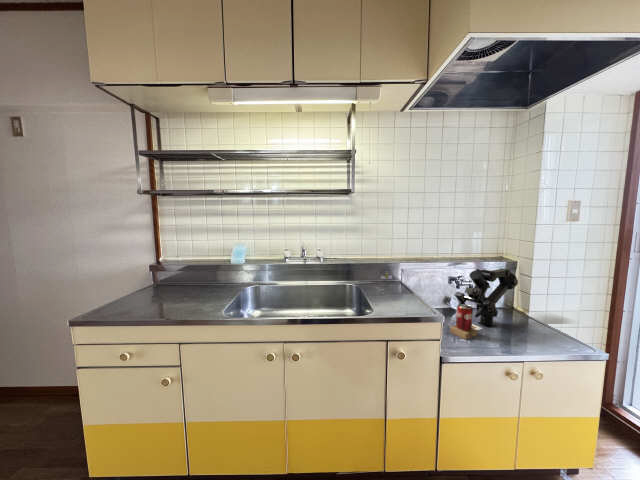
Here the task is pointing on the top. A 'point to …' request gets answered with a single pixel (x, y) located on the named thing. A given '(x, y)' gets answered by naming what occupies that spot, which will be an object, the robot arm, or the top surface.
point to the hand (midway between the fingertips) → (466, 314)
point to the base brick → (463, 332)
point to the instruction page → (476, 327)
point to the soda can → (464, 317)
